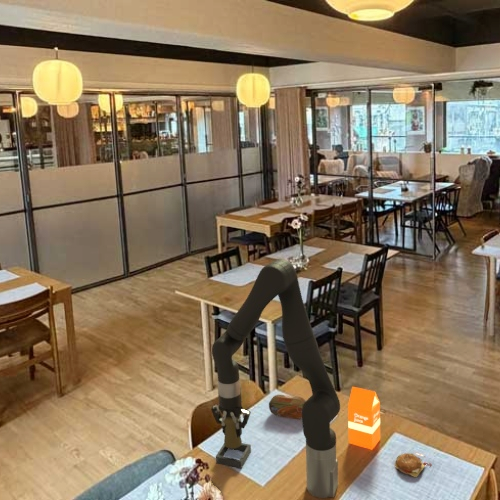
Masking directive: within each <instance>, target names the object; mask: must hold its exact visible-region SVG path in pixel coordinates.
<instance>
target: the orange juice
mask: <svg viewBox="0 0 500 500" xmlns="http://www.w3.org/2000/svg"><path fill="white" fill-rule="evenodd" d="M347 413H348V415H347V418H348V421H347V423H348V425H347V426H348V427H347V428H348V443H349V444H350V445H354V446H356V447H361V448H365V449H369V450H371V451H372V450H373V449H374V448H375V447H376V446H377V445H378V443H379V441H381V402H380V399H379V398H378V395H377V392H376V391H374V390H369V389H366V388H361V387H355V386H352V387H351V391H350V396H349V399H348V404H347Z"/></svg>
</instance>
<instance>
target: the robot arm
mask: <svg viewBox="0 0 500 500" xmlns="http://www.w3.org/2000/svg"><path fill="white" fill-rule="evenodd" d="M276 297H278V299H279V302H280V306H281V333H282V334H281V335H282V339H283V343H284V345H285V349H286V351H287V355H288V357H289V359H290V360H291V362H292V363H293V364H294V365H295V366H296V367H297V368H299V370H300V371H301V372H302V373H304V375H305V376H306V378H307V380H308V383H309V385H310V388H311V393H312V395H311V396H309V397H308V399H306V400H305V401H306V402H305V403H304V404H303V407H302V419H301V421H302V422H301V423H302V425H301V426H302V433H303V436H304V439H305V460H306V461H305V465H306V490H307V492H308V493H309V494H310V495H311V496H313V497H314V498H319V499H326V498H334V497H335V495H336V491H337V488H338V486H339V460H338V459H337V434H336V432H335V431H334V429H332V428H331V423H332V421H333V420H335V418H336V417H337V415H339V413H340V410H341V403H340V402H341V401H340V399H339V396H338V393H337V390H335V389H336V388H335V387H334V385H333V383H332V381H331V378H330V377H329V374H328V371H327V368H326V366H325V362H324V360H323V357H322V355H321V352H320V348H319V345H318V342H317V339H316V336H315V332H314V330H313V328H312V324H311V322H310V318H309V315H308V312H307V308H306V307H305V304H304V300H303V297H302V292H301V288H300V282H299V278H298V274H297V271H296V269H295V266H294V265H293V264H292V262H290V261H289V260H287V259H285V258H277V259H275V260H273V261H271V262H270V263H268V264H266V265H264V267H262V268H261V270H260V271H259V272H258V275H257V277H256V279H255V281H254V283H253V286H252V288H251V290H250V292H249V293H248V296H247V297H246V299H245V300H244V302H243V304H242V305H241V306H240V308H239V309H238V311H237V312H236V313H235V315H234V316H233V317H232V319H231V320H230V321H229V323H228V325H227V329H226V330H225V331H224V333H223V334H221V336H220V337H219V338H217V339H216V340H215V341H214V342H213V344H212V346H211V355H212V359H213V361H214V365H215V367H216V369H217V373H216V374H217V393H218V395H217V396H218V405H217V404H214V405H213V406H212V408H211V409H210V410H211V413H212V415H213V418H214V420H215V423H216V424H220V425H221V428H222V429H221V430H222V434H223V435H224V436H225V427H226V425H225V423H224V420H225V419H226V417H231V418H232V419H233V421H234V423H236V434H237V438H239V436H241V437H242V434H243V430H242V429H245V427H246V426H247V424H248V421H249V418H250V416H251V410H245V409H244V407H243V406H242V402H243V401H242V388H241V380H240V369H239V368H240V367H239V364H238V361H235V360H234V359H233V356H234V354H236V353H237V351H239V350H240V348H241V347H242V345H243V344H244V342H245V340H246V338H247V337H248V336H249V335H250V334H251V333H252V331H253V330H254V328H255V327H256V326H257V323H258V322H259V320H260V318H261V316H262V314H263V312H264V310H265V309H266V307H267V306H268V305H269V304H270V303H271V302H272V301H273V299H275V298H276ZM241 415H242V416H241ZM236 418H238V419H236ZM241 418H243V419H241Z"/></svg>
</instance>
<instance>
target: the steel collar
mask: <svg viewBox="0 0 500 500" xmlns="http://www.w3.org/2000/svg"><path fill="white" fill-rule="evenodd" d="M251 447H252V445H251V444H250V443H243V442H242V444H241V445H240V446H239V447H238V448H234V449H230V448H227V447H226V446H225V445H224V443H223V445H222V446H221V447H220V448H219V451H218V452H217V454H216V455H215V464H217V465H220V466H225V467H230V468H234V469H239V470H242V469H243V467H244V465H245V464H246V462H247V460H248V458H249V457H250V455H251V453H252V448H251ZM228 450H232V451H237V452H241V453H242V455H241V456H240V459H238V458H233V457H228V456H225V454H227V451H228Z"/></svg>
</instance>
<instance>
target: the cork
mask: <svg viewBox="0 0 500 500" xmlns="http://www.w3.org/2000/svg"><path fill="white" fill-rule="evenodd" d="M236 419H238V418H236ZM224 423H225V425H226V427H225V435H224V439H223V441H224V443H223V444H224V445H225V446H226V447H227V448H230V449H229V450H231V449H234V448H238V447H239V446H240V445H241V444H242V443H243V442H242V438H241V437H242V435H241V436H239V438H237V434H236V423H234V421H233V419H232V418H231V417H226V419H225V420H224Z"/></svg>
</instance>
